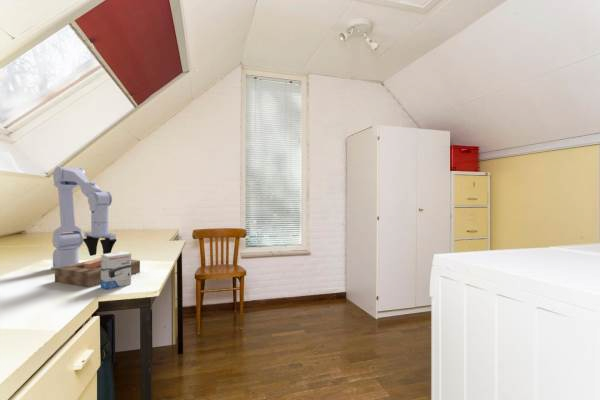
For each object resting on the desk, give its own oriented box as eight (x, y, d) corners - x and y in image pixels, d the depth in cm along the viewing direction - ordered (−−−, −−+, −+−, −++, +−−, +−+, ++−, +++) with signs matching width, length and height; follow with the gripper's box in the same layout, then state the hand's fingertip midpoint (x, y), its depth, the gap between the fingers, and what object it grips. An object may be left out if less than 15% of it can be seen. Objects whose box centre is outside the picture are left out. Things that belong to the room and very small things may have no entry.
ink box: (106, 289, 107) (106, 256, 107) (100, 287, 110) (100, 254, 110) (131, 284, 114) (131, 252, 114) (125, 281, 117) (125, 250, 116)
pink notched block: (85, 278, 119) (83, 263, 118) (108, 269, 128) (107, 255, 127) (91, 279, 118) (89, 264, 117) (114, 269, 127) (113, 255, 126)
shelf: (54, 281, 115) (54, 268, 115) (108, 268, 136) (108, 256, 136) (89, 287, 110) (89, 273, 109) (139, 272, 130) (139, 260, 130)
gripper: (76, 222, 121) (76, 256, 121) (103, 224, 116) (103, 259, 116) (94, 220, 128) (94, 253, 128) (120, 222, 123) (120, 256, 123)
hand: (99, 256), depth 123 cm, fingers open, 7 cm apart
